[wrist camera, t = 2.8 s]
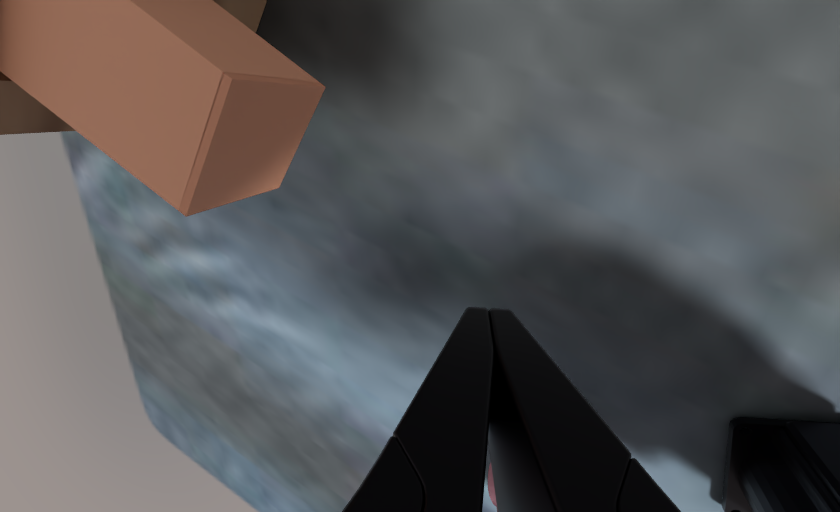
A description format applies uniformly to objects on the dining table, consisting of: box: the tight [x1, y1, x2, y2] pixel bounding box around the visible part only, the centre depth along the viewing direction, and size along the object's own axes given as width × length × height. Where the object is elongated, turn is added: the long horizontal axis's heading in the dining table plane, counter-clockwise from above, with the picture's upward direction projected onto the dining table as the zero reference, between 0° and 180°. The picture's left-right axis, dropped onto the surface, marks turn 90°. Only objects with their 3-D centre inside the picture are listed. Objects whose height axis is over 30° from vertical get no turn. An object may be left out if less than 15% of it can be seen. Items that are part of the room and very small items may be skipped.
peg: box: [0, 0, 326, 216], centre depth 12 cm, size 10×4×4 cm, turn 55°
